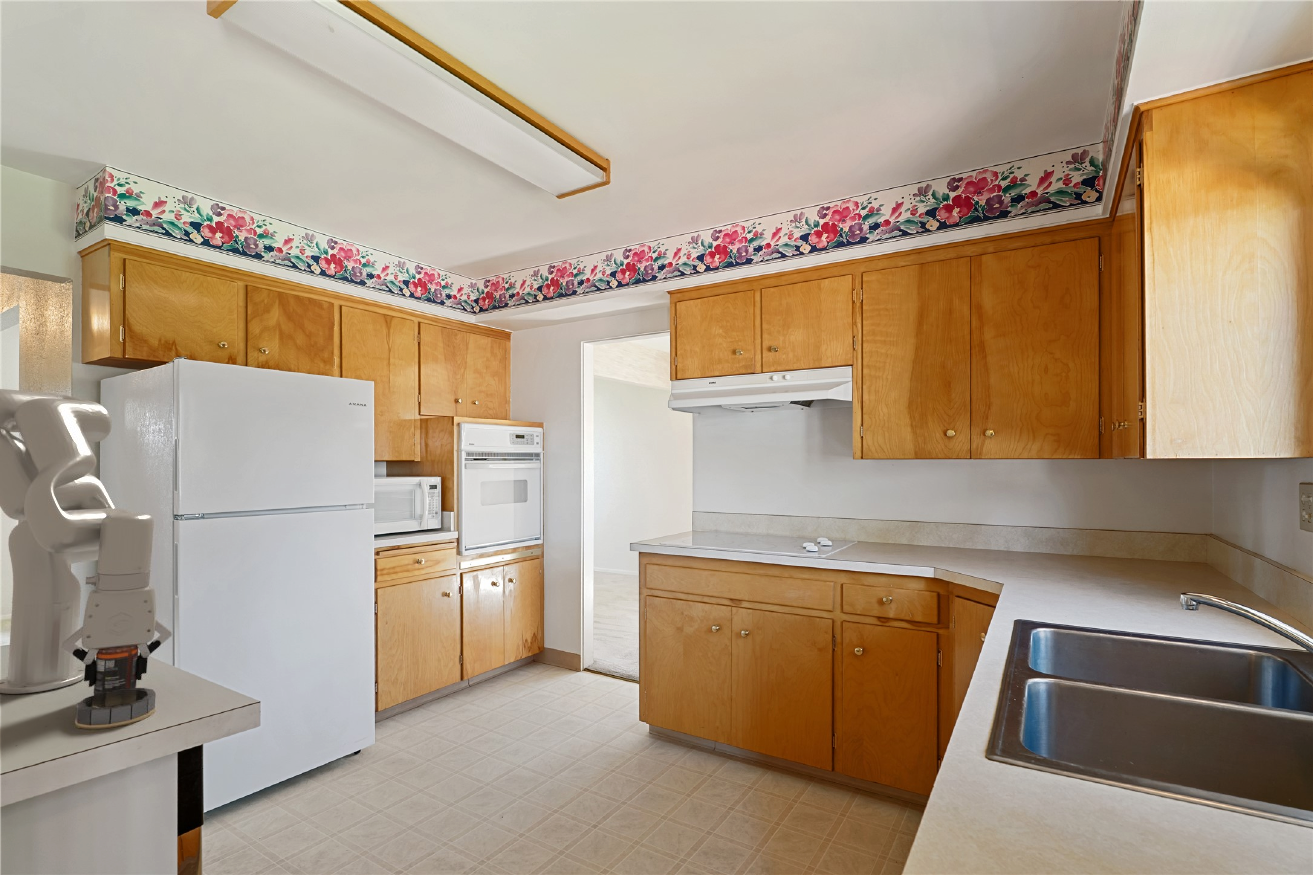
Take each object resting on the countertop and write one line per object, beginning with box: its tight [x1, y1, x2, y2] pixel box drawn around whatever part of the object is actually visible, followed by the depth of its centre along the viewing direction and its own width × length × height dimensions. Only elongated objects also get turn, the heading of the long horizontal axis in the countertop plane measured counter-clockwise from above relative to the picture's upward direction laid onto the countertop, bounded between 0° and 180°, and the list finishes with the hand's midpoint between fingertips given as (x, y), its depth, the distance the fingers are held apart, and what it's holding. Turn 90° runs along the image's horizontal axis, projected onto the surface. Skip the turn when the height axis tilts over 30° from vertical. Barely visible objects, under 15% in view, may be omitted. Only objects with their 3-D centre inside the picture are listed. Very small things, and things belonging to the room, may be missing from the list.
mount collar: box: [74, 687, 156, 730], centre depth 109 cm, size 10×10×3 cm
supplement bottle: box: [93, 645, 139, 695], centre depth 118 cm, size 6×6×11 cm
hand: (115, 680), depth 117 cm, fingers closed on supplement bottle, 6 cm apart
